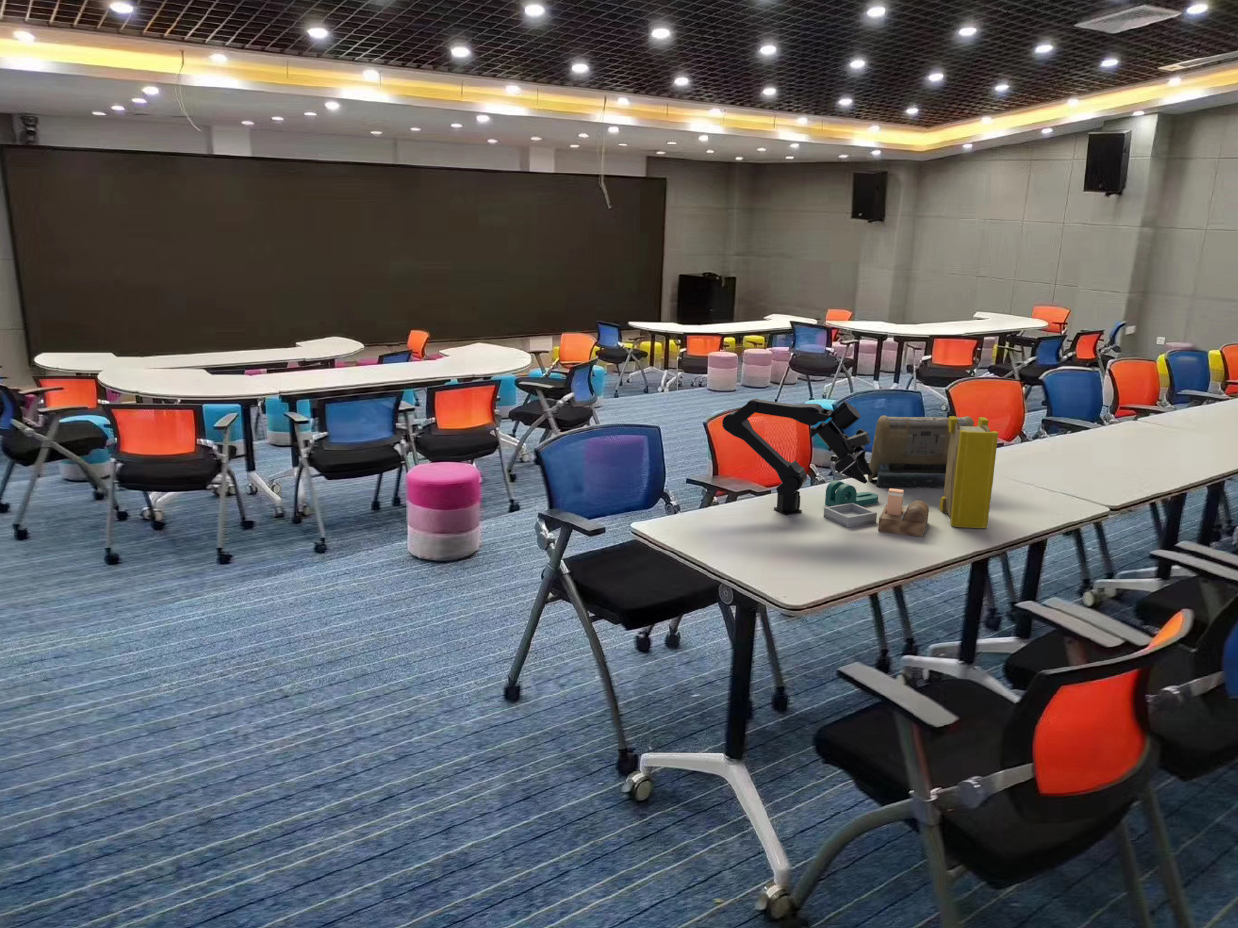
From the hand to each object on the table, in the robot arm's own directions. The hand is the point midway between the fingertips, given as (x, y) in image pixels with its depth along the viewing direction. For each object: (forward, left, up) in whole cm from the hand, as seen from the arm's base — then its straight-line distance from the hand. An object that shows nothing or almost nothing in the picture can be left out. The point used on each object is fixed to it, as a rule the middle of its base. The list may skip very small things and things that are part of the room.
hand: (868, 478), depth 252 cm
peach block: (+5, -6, -13) cm, 16 cm away
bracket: (+9, +16, -14) cm, 23 cm away
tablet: (+44, +24, -14) cm, 52 cm away
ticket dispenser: (+7, -9, -13) cm, 17 cm away
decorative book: (+29, -10, -14) cm, 34 cm away
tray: (-3, +4, -13) cm, 14 cm away
